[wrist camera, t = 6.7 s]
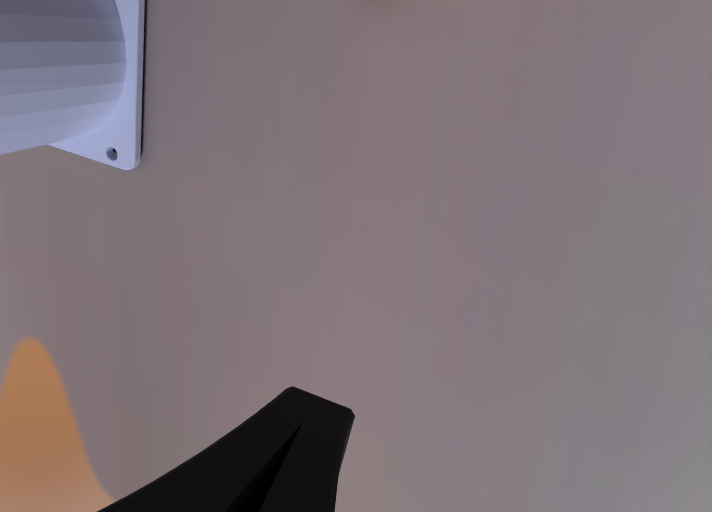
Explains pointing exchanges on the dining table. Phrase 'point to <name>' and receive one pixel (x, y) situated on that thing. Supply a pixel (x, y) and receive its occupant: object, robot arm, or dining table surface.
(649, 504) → the dining table surface
